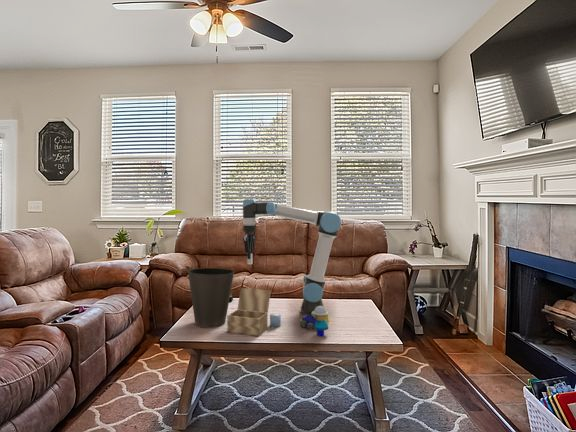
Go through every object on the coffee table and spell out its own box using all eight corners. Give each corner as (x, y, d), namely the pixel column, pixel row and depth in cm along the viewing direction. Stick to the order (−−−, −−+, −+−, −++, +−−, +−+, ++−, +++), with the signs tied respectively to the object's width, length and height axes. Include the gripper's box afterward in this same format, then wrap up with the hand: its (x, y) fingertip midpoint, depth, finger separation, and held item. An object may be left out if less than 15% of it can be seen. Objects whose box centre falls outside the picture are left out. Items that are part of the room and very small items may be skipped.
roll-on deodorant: (282, 324, 206) (282, 313, 206) (278, 327, 200) (278, 316, 200) (272, 323, 208) (272, 312, 208) (268, 326, 202) (268, 315, 202)
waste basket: (239, 319, 215) (239, 268, 214) (227, 331, 195) (226, 275, 194) (197, 316, 221) (196, 267, 220) (180, 327, 201) (180, 273, 200)
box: (267, 329, 198) (267, 312, 198) (258, 336, 187) (258, 319, 187) (237, 325, 204) (237, 309, 204) (227, 332, 192) (227, 315, 192)
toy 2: (310, 331, 194) (310, 303, 194) (326, 331, 195) (327, 303, 194) (313, 337, 186) (313, 308, 185) (330, 337, 186) (330, 308, 186)
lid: (267, 312, 198) (268, 312, 199) (270, 290, 202) (271, 290, 203) (237, 309, 204) (238, 309, 204) (240, 287, 208) (241, 288, 208)
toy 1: (316, 335, 195) (333, 324, 205) (315, 323, 194) (332, 312, 204) (297, 329, 205) (314, 319, 215) (296, 317, 203) (313, 307, 214)
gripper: (248, 224, 226) (249, 262, 227) (238, 225, 214) (239, 265, 215) (259, 224, 224) (260, 262, 224) (250, 225, 211) (250, 266, 212)
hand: (249, 264), depth 220 cm, fingers closed
